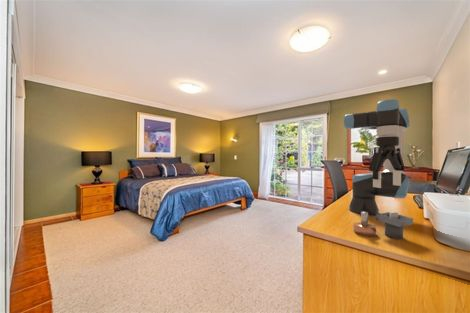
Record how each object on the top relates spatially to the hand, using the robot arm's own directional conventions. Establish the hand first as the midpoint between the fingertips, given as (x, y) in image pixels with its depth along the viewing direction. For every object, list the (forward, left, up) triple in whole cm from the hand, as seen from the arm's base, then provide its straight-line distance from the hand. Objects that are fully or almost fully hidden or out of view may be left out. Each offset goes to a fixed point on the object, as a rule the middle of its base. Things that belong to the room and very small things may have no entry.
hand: (387, 186), depth 82 cm
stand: (-2, +1, -21) cm, 21 cm away
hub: (+6, -6, -21) cm, 23 cm away
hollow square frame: (-2, +1, -15) cm, 15 cm away
